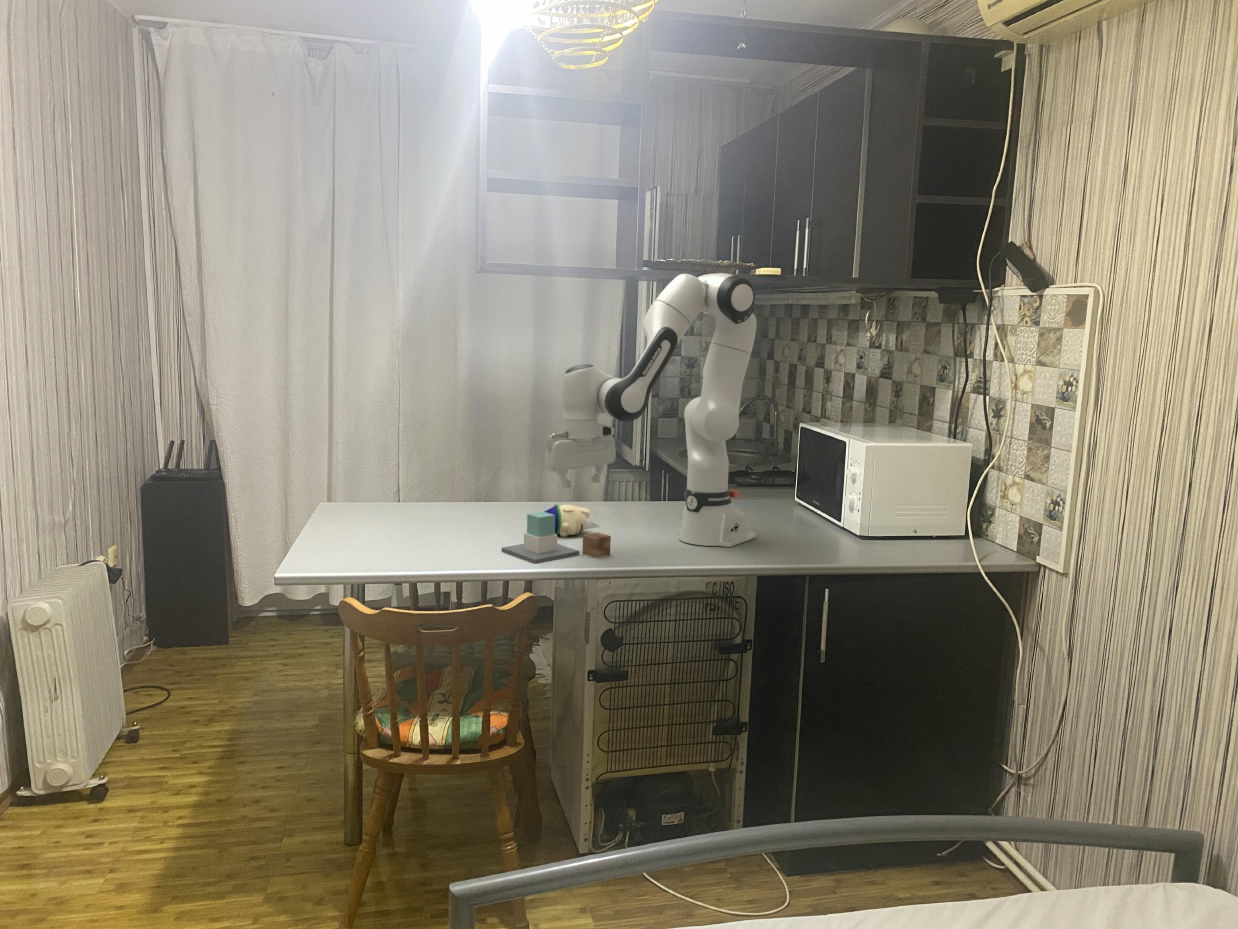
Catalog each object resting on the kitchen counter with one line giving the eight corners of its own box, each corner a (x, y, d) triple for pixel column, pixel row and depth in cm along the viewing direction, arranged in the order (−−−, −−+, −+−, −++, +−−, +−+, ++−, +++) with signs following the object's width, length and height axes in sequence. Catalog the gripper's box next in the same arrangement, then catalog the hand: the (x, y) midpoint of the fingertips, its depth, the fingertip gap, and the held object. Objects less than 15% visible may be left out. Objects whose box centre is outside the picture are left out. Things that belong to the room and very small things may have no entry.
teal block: (542, 530, 236) (543, 511, 235) (554, 534, 233) (555, 515, 232) (526, 533, 233) (527, 514, 232) (538, 537, 229) (539, 517, 228)
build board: (545, 543, 243) (545, 525, 242) (579, 554, 233) (579, 535, 232) (501, 551, 234) (501, 532, 233) (534, 563, 224) (535, 543, 223)
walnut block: (597, 551, 238) (597, 532, 237) (610, 555, 234) (610, 536, 233) (582, 554, 234) (582, 534, 234) (595, 558, 231) (595, 538, 230)
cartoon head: (599, 544, 255) (528, 545, 249) (592, 520, 262) (523, 520, 256) (605, 521, 250) (532, 521, 244) (598, 498, 257) (527, 497, 251)
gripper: (554, 435, 220) (555, 492, 222) (619, 427, 233) (619, 481, 236) (539, 433, 225) (540, 488, 227) (603, 425, 238) (603, 478, 240)
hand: (581, 484), depth 232 cm, fingers open, 8 cm apart
